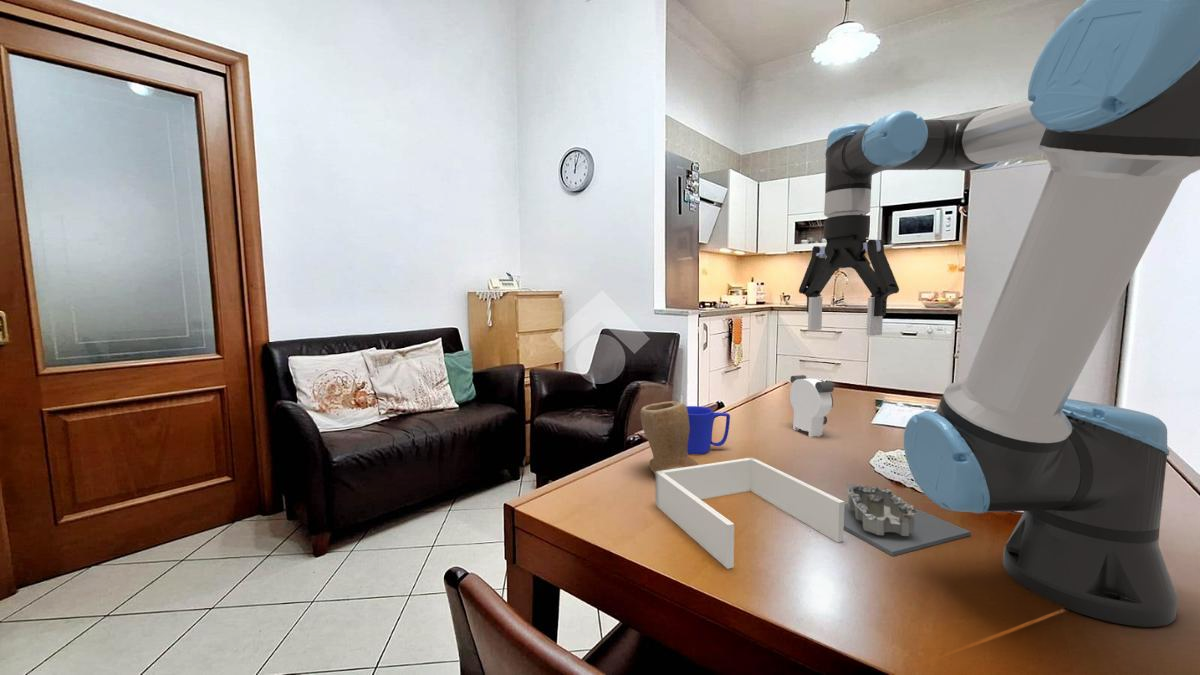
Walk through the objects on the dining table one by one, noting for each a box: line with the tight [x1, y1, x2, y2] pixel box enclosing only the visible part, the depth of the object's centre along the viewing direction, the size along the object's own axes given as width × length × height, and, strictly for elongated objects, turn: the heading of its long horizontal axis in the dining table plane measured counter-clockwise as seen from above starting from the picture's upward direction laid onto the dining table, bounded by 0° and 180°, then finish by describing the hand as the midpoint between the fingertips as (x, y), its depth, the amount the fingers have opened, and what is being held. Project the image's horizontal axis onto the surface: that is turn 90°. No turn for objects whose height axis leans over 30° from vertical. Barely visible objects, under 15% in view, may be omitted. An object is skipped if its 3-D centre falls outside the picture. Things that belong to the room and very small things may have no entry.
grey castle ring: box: [845, 482, 917, 536], centre depth 75 cm, size 11×8×4 cm
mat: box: [844, 503, 972, 557], centre depth 76 cm, size 14×16×1 cm
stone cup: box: [640, 400, 700, 476], centre depth 96 cm, size 15×12×15 cm
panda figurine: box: [789, 374, 835, 438], centre depth 123 cm, size 12×11×15 cm
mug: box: [685, 405, 731, 455], centre depth 111 cm, size 8×12×10 cm
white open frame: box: [654, 456, 845, 570], centre depth 77 cm, size 21×20×6 cm
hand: (842, 332), depth 90 cm, fingers open, 13 cm apart
